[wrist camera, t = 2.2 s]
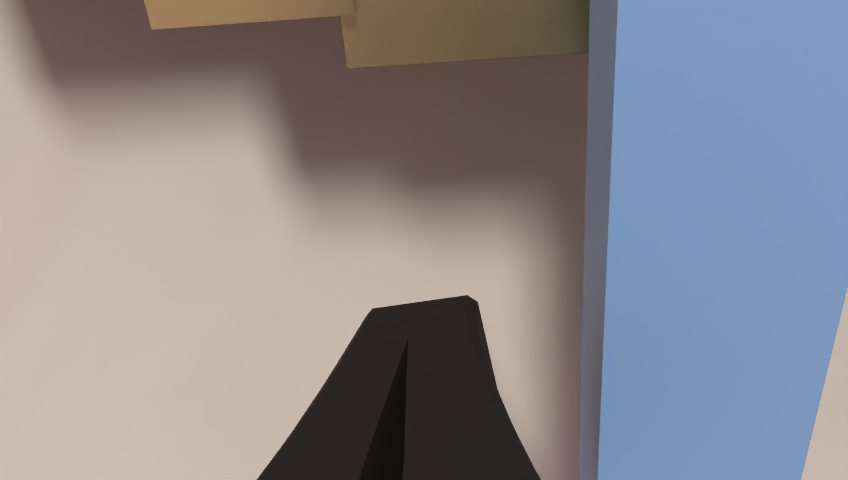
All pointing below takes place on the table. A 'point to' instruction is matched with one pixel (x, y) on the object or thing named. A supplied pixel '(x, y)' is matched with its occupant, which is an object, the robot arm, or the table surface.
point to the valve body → (408, 26)
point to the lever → (711, 235)
